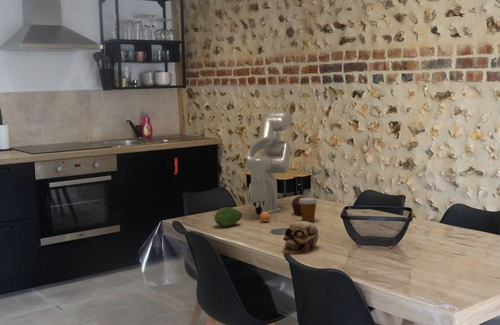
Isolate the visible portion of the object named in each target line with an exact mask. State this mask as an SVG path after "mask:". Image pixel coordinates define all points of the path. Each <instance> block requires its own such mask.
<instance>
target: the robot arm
mask: <svg viewBox="0 0 500 325" xmlns="http://www.w3.org/2000/svg"><path fill="white" fill-rule="evenodd" d="M261 118H262V119H260V120H261V122H260V125H259V131H258V136H257V140H256V141H254V143H252V145H251V146H250V147H249V149H248V151H247V154H246V155H247V156H246V160H245V161H246V162H245V163H246V164H245V165H246V168H247V169H248V170H250V183H249V186H248V196H247V197H248V204H249V205H252V206H254V207H255V214H256V215H258V216H260V214H261V213H262V212H268V213H269V214H271V213H272V214H273V213H274V214H275V213H279V212H281V208H280V207H278V204H279V203H278V183H277V179H276V178H277V177H276V176H275V175H274V174H285V173H287V172H288V170H289V165H290V161H291V154H292V146H291V143H290V142H289V141H286V140H281V134H280V133H279V132H284V131H286V130H287V129H288V128H289V127H290V125H291V123H292V115H291V113H290V112H288V111H271V112H270V111H269V112H266V113H265V112H264V113H263V115H262V117H261ZM262 149H263V150H262ZM261 150H262V152H263V155H264V156H256V155H255V154H256V153H258V152H259V151H261Z"/></svg>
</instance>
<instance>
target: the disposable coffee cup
mask: <svg viewBox="0 0 500 325" xmlns="http://www.w3.org/2000/svg"><path fill="white" fill-rule="evenodd" d="M317 202H318V201H317V199H316V197H309V196H305V198H300V200H299V203H300V209H301V215H302V216H301V220H302V221H306V222H310V223H313V222H315V215H316V204H317Z"/></svg>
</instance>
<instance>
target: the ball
mask: <svg viewBox="0 0 500 325" xmlns="http://www.w3.org/2000/svg"><path fill="white" fill-rule="evenodd" d="M270 214H271V213H268V212H262V213H261V214H259V219H260V221H261V222H263V223H268V222H269V221H270V219H271V215H270Z"/></svg>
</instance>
